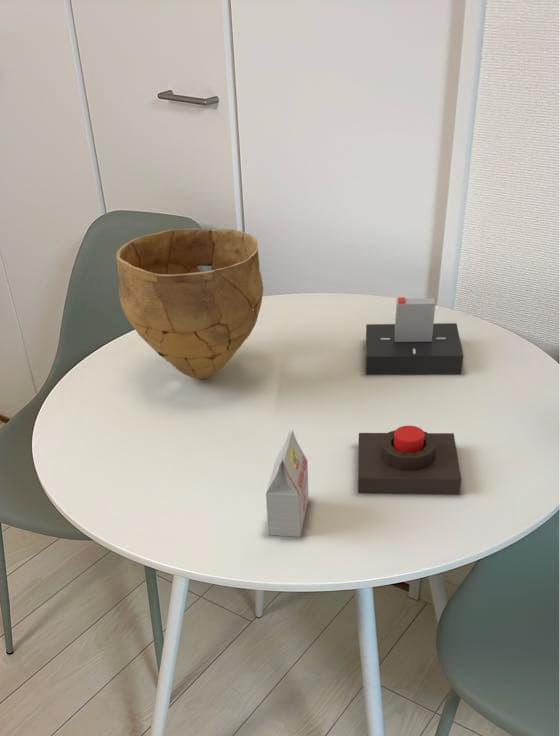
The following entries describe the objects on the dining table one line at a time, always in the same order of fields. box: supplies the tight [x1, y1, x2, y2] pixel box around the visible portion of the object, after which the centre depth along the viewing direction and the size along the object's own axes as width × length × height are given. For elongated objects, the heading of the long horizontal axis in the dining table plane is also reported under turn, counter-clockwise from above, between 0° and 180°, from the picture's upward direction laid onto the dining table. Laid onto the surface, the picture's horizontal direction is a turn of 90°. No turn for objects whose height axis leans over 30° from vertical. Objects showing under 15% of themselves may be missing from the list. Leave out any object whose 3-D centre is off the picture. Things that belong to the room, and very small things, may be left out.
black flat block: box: [365, 322, 464, 376], centre depth 115 cm, size 14×11×3 cm
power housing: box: [357, 429, 462, 495], centre depth 93 cm, size 12×10×4 cm
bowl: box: [115, 228, 264, 380], centre depth 109 cm, size 21×20×20 cm
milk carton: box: [265, 429, 309, 538], centre depth 85 cm, size 4×7×10 cm, turn 169°
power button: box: [394, 425, 425, 452], centre depth 91 cm, size 4×4×2 cm
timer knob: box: [394, 296, 436, 342], centre depth 113 cm, size 6×2×6 cm, turn 84°
